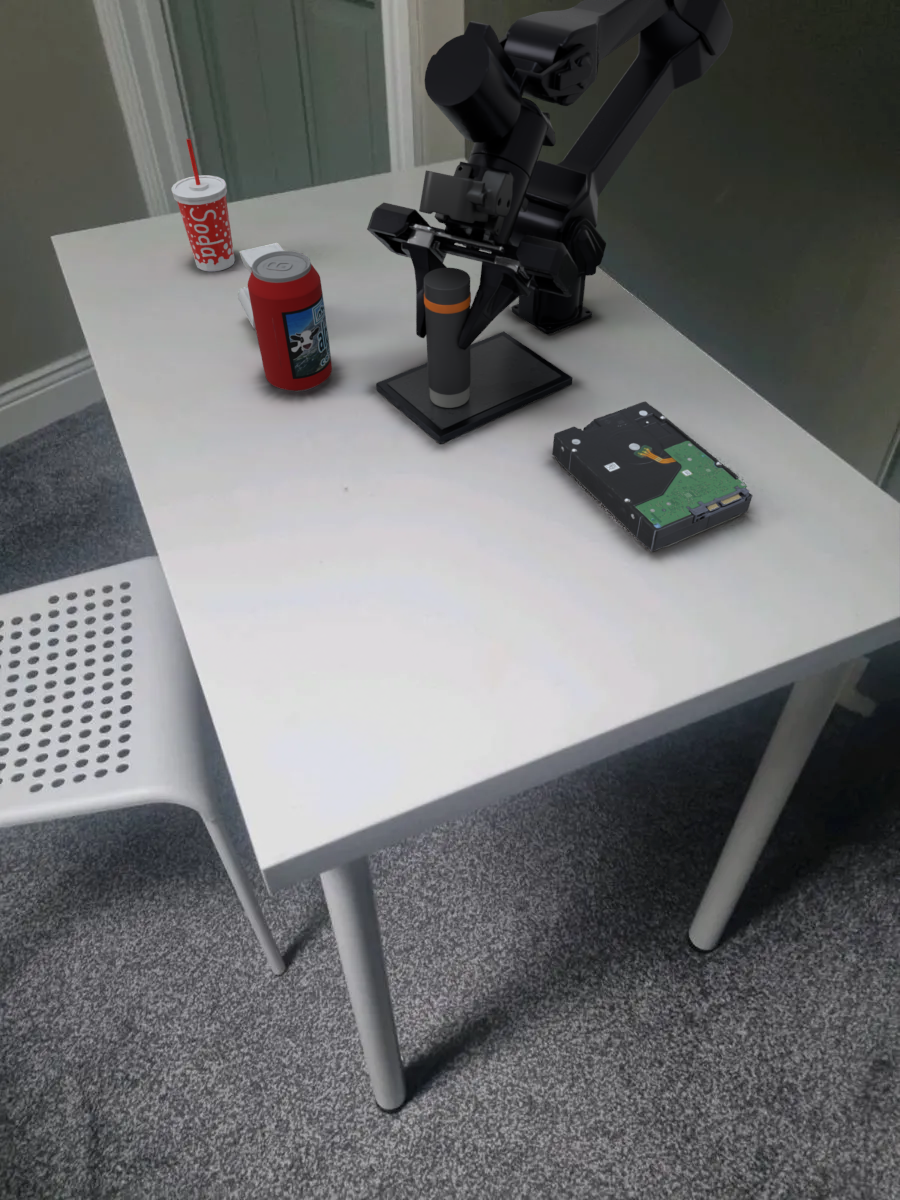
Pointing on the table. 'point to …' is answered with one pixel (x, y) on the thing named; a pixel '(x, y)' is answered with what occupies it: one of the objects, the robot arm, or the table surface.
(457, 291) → the flashlight
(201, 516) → the table surface
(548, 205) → the robot arm
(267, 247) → the stamp
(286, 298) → the beverage can
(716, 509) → the disk drive
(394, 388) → the tablet
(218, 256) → the beverage cup
